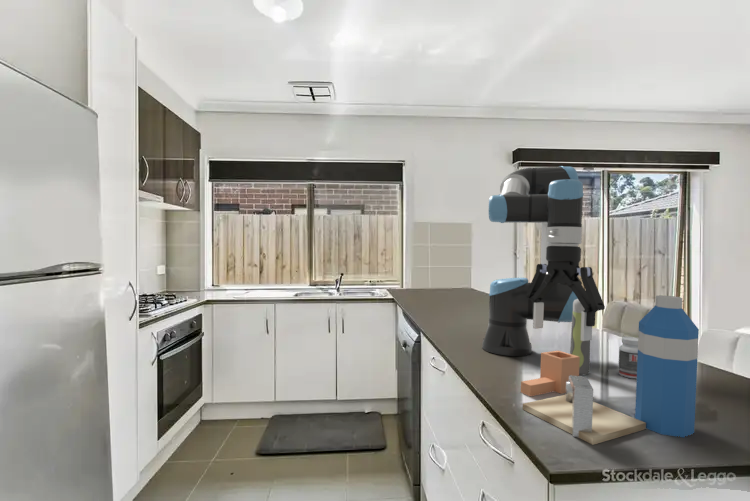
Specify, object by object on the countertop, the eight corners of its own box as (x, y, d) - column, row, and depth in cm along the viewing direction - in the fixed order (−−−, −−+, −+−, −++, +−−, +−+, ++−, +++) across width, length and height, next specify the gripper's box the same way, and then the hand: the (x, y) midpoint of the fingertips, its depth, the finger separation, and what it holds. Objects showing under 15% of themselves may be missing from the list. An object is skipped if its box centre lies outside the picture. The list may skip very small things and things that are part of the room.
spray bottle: (573, 368, 113) (575, 297, 113) (592, 372, 110) (594, 299, 109) (566, 372, 110) (569, 298, 109) (585, 376, 106) (588, 300, 106)
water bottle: (623, 415, 83) (628, 293, 82) (666, 414, 84) (671, 293, 83) (659, 438, 74) (665, 300, 73) (707, 437, 74) (713, 300, 74)
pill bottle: (647, 380, 105) (648, 342, 105) (623, 378, 106) (624, 340, 106) (637, 373, 111) (639, 337, 110) (614, 371, 112) (616, 335, 112)
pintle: (562, 399, 87) (563, 375, 87) (570, 398, 88) (571, 374, 88) (572, 403, 85) (573, 379, 85) (580, 402, 86) (581, 377, 86)
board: (522, 409, 85) (522, 403, 85) (572, 398, 91) (572, 393, 91) (592, 444, 70) (593, 437, 70) (645, 429, 77) (646, 422, 77)
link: (535, 399, 90) (536, 363, 90) (515, 389, 96) (516, 356, 96) (578, 390, 97) (579, 356, 96) (557, 382, 102) (558, 350, 102)
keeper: (568, 420, 80) (569, 375, 80) (585, 423, 79) (586, 377, 79) (572, 436, 73) (574, 387, 73) (591, 439, 72) (593, 389, 72)
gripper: (513, 244, 107) (510, 324, 107) (602, 245, 84) (598, 347, 85) (534, 244, 110) (531, 322, 110) (625, 246, 88) (621, 344, 88)
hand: (560, 333), depth 98 cm, fingers open, 13 cm apart
